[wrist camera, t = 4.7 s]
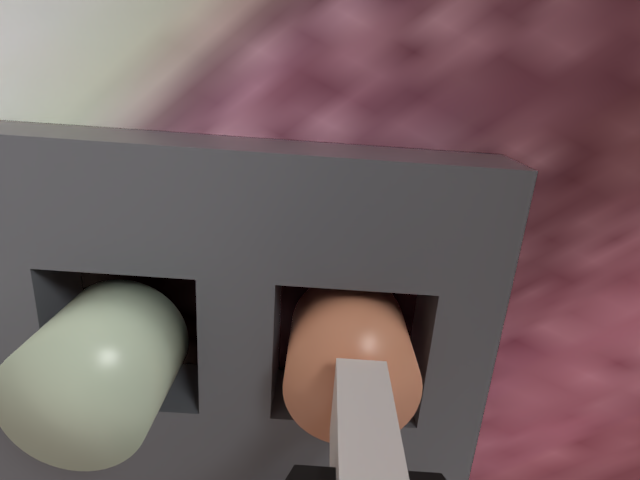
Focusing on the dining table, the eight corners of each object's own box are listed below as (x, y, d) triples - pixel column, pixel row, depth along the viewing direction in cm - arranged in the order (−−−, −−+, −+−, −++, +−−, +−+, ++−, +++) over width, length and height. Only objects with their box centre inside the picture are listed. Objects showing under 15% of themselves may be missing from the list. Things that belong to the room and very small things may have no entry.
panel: (-228, 104, 17) (-343, 111, 14) (502, 154, 17) (537, 171, 14) (-127, 423, 21) (-197, 477, 18) (442, 459, 21) (460, 518, 19)
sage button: (58, 275, 16) (-24, 337, 12) (187, 283, 16) (144, 347, 12) (73, 382, 18) (4, 466, 14) (190, 389, 18) (153, 476, 14)
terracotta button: (294, 270, 18) (285, 324, 14) (410, 278, 18) (432, 334, 14) (289, 369, 19) (280, 441, 15) (396, 376, 19) (412, 449, 16)
